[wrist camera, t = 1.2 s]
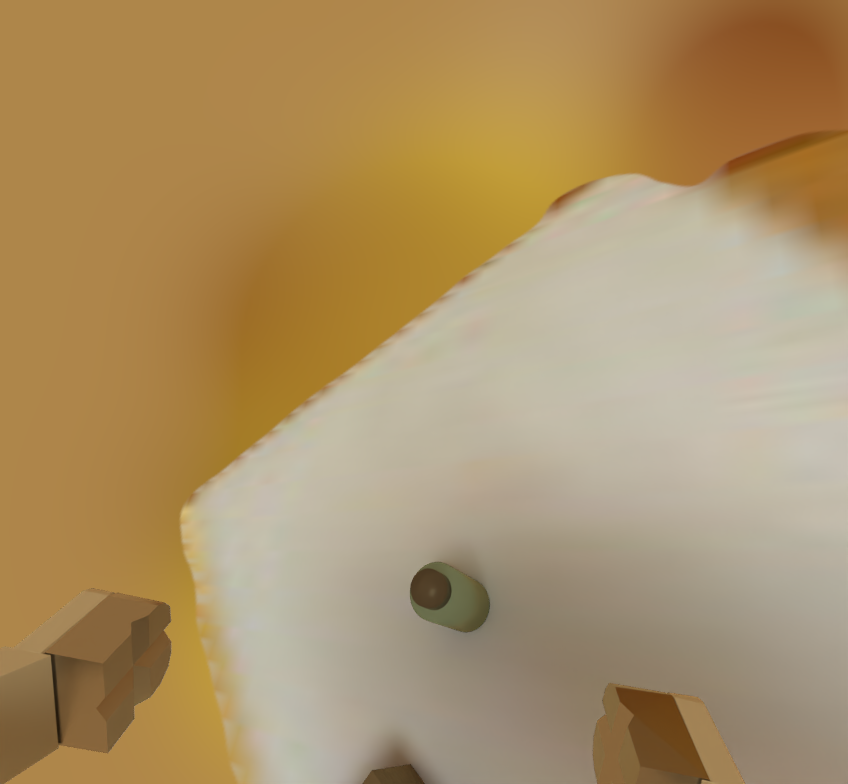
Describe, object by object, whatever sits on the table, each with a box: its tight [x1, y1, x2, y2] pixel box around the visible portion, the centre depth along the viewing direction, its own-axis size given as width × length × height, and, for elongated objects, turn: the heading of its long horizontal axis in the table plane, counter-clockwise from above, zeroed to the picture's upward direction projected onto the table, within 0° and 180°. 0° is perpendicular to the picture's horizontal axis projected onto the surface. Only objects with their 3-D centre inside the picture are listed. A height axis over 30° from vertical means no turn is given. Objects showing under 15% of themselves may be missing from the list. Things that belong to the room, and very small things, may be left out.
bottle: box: [410, 562, 490, 632], centre depth 42 cm, size 4×4×8 cm
